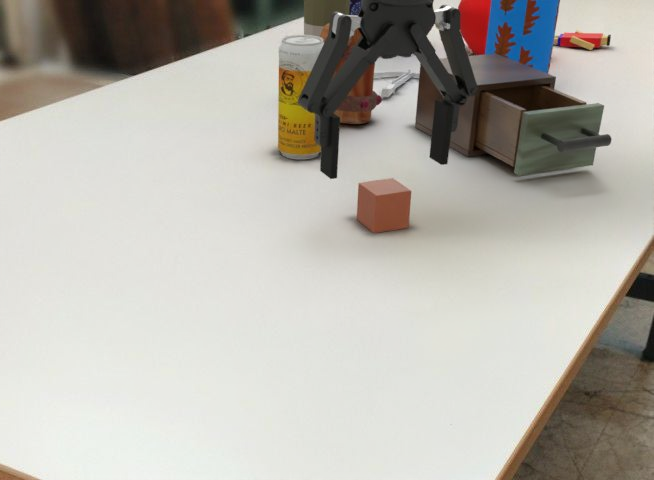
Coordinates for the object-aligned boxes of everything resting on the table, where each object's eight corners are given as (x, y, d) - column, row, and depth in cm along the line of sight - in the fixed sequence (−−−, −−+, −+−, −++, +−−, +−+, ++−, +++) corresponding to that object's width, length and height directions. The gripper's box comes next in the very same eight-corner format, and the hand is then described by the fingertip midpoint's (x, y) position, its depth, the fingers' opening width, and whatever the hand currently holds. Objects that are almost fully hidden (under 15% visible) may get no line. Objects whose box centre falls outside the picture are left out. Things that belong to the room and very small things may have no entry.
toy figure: (545, 36, 184) (608, 37, 179) (550, 29, 189) (612, 30, 185) (543, 49, 185) (607, 51, 181) (549, 42, 190) (610, 43, 186)
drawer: (618, 177, 117) (630, 115, 113) (542, 189, 114) (552, 125, 110) (531, 135, 132) (540, 79, 128) (462, 144, 128) (468, 87, 124)
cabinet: (545, 146, 131) (556, 76, 125) (467, 157, 126) (476, 85, 121) (487, 118, 142) (495, 53, 137) (414, 127, 138) (420, 60, 133)
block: (408, 227, 105) (411, 190, 103) (373, 233, 104) (376, 195, 101) (390, 214, 109) (393, 177, 106) (356, 219, 107) (358, 182, 105)
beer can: (269, 155, 126) (269, 40, 118) (293, 143, 131) (295, 32, 123) (307, 163, 123) (310, 46, 116) (330, 152, 128) (335, 38, 120)
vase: (500, 40, 189) (514, -64, 178) (572, 58, 176) (590, -52, 166) (433, 51, 180) (443, -57, 170) (503, 71, 167) (518, -45, 157)
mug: (340, 109, 146) (344, 7, 138) (387, 117, 142) (395, 13, 134) (293, 133, 135) (295, 24, 127) (343, 142, 131) (348, 31, 123)
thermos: (508, 74, 165) (529, -82, 152) (559, 87, 158) (585, -76, 145) (468, 84, 159) (486, -78, 146) (518, 98, 152) (542, -72, 139)
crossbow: (374, 77, 166) (375, 65, 165) (444, 84, 162) (445, 72, 161) (347, 93, 152) (348, 80, 151) (423, 102, 148) (424, 88, 148)
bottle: (298, 109, 145) (303, -107, 130) (303, 97, 151) (308, -111, 135) (343, 111, 144) (353, -106, 129) (347, 99, 150) (357, -110, 135)
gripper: (487, -51, 99) (463, 145, 110) (268, -43, 91) (266, 169, 102) (529, -42, 93) (499, 165, 104) (299, -31, 85) (293, 192, 96)
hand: (384, 167), depth 103 cm, fingers open, 13 cm apart
